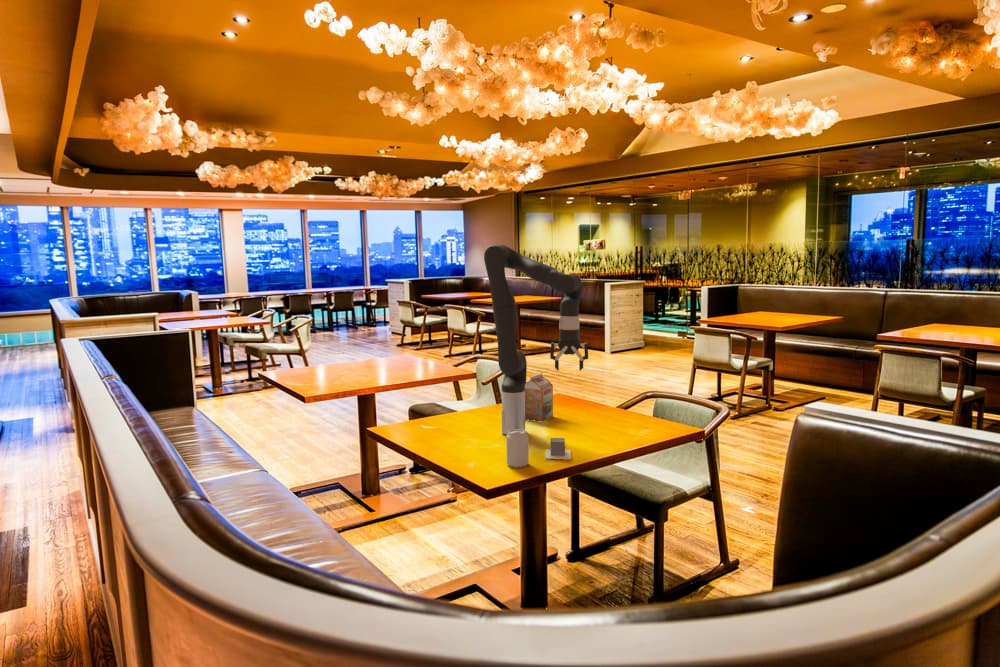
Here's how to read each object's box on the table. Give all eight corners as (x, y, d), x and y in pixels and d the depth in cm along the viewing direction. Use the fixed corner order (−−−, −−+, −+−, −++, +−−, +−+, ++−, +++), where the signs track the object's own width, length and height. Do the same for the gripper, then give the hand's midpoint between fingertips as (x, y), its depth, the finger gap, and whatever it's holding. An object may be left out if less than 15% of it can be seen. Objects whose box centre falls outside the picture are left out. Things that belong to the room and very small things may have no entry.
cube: (550, 455, 228) (550, 442, 227) (550, 451, 232) (550, 437, 232) (564, 455, 227) (564, 442, 227) (564, 451, 232) (564, 437, 231)
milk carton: (541, 422, 275) (541, 378, 272) (520, 418, 280) (519, 376, 278) (553, 416, 284) (552, 374, 281) (532, 413, 289) (531, 371, 287)
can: (503, 467, 219) (503, 432, 217) (511, 460, 226) (510, 427, 224) (524, 469, 216) (524, 434, 215) (531, 462, 223) (531, 428, 222)
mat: (545, 459, 226) (545, 457, 226) (545, 451, 235) (545, 449, 235) (571, 459, 225) (571, 457, 225) (570, 451, 234) (570, 449, 234)
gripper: (550, 328, 239) (550, 371, 241) (589, 329, 237) (588, 372, 240) (550, 326, 246) (550, 368, 248) (587, 326, 245) (587, 368, 247)
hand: (569, 370), depth 244 cm, fingers open, 8 cm apart
